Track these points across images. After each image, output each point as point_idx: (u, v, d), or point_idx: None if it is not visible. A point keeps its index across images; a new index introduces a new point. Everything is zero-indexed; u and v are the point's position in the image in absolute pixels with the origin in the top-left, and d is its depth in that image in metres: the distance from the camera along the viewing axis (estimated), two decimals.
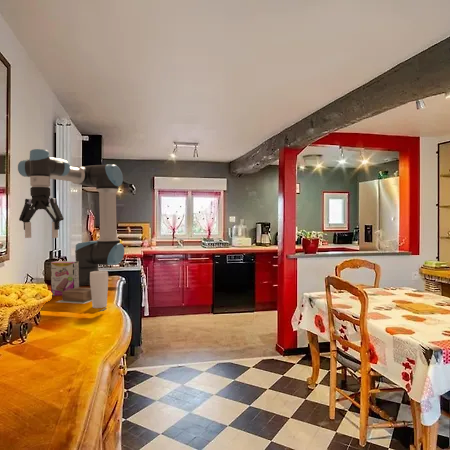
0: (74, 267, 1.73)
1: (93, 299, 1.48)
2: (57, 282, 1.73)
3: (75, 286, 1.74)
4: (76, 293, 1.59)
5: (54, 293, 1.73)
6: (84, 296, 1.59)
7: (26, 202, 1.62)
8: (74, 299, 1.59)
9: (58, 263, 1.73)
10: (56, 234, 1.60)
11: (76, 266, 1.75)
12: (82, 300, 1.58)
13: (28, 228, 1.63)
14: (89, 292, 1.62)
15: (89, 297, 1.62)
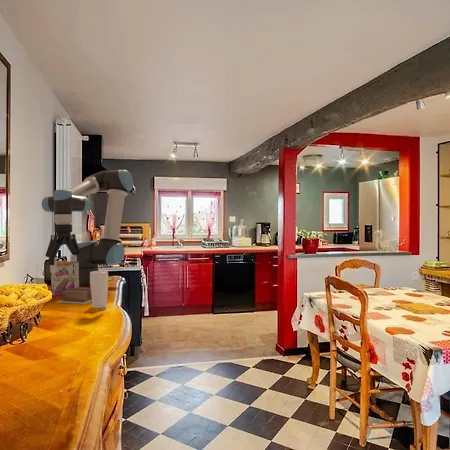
0: (74, 267, 1.73)
1: (93, 299, 1.48)
2: (57, 282, 1.73)
3: (75, 286, 1.74)
4: (76, 293, 1.59)
5: (54, 293, 1.73)
6: (84, 296, 1.59)
7: None
8: (74, 299, 1.59)
9: (58, 263, 1.73)
10: (53, 269, 1.68)
11: (76, 266, 1.75)
12: (82, 300, 1.58)
13: (72, 260, 1.81)
14: (89, 292, 1.62)
15: (89, 297, 1.62)
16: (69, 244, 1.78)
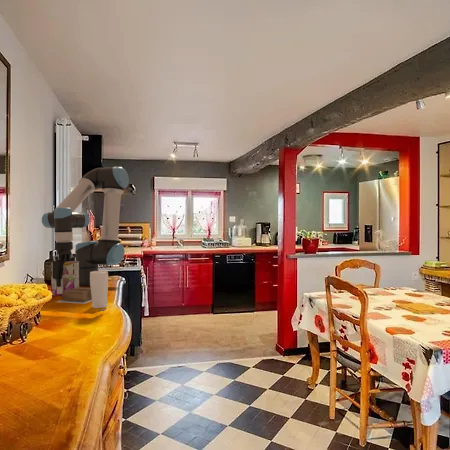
0: (74, 267, 1.73)
1: (93, 299, 1.48)
2: None
3: (75, 286, 1.74)
4: (76, 293, 1.59)
5: (54, 293, 1.74)
6: (84, 296, 1.59)
7: None
8: (74, 299, 1.59)
9: None
10: (60, 290, 1.72)
11: (76, 266, 1.75)
12: (82, 300, 1.58)
13: None
14: (89, 292, 1.62)
15: (89, 297, 1.62)
16: None
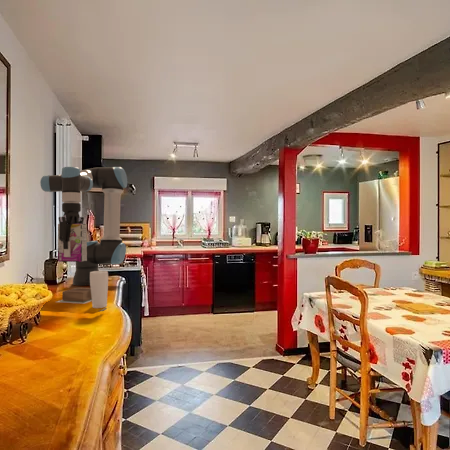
0: (82, 229, 1.65)
1: (93, 299, 1.48)
2: None
3: (83, 249, 1.66)
4: (76, 293, 1.59)
5: (61, 256, 1.66)
6: (84, 296, 1.59)
7: None
8: (74, 299, 1.59)
9: None
10: (67, 253, 1.64)
11: (84, 228, 1.67)
12: (82, 300, 1.58)
13: None
14: (89, 292, 1.62)
15: (89, 297, 1.62)
16: None
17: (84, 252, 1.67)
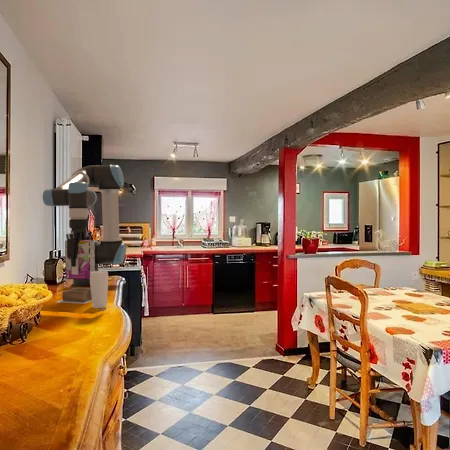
0: (90, 246, 1.62)
1: (93, 299, 1.48)
2: None
3: (91, 266, 1.62)
4: (76, 293, 1.59)
5: (68, 273, 1.62)
6: (84, 296, 1.59)
7: None
8: (74, 299, 1.59)
9: None
10: (75, 271, 1.60)
11: (92, 245, 1.63)
12: (82, 300, 1.58)
13: None
14: (89, 292, 1.62)
15: (89, 297, 1.62)
16: None
17: (92, 269, 1.63)
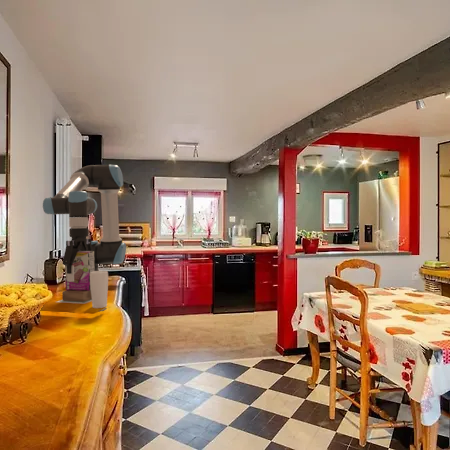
0: (90, 258, 1.61)
1: (93, 299, 1.48)
2: None
3: None
4: (76, 293, 1.59)
5: (69, 285, 1.62)
6: (84, 296, 1.59)
7: None
8: (74, 299, 1.59)
9: None
10: (70, 278, 1.58)
11: (91, 256, 1.63)
12: (82, 300, 1.58)
13: None
14: (89, 292, 1.62)
15: (89, 297, 1.62)
16: (84, 249, 1.66)
17: None
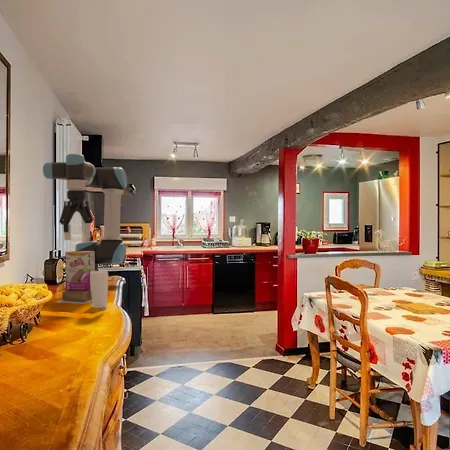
0: (90, 257, 1.61)
1: (93, 299, 1.48)
2: (72, 273, 1.62)
3: None
4: (76, 293, 1.59)
5: (69, 285, 1.62)
6: (84, 296, 1.59)
7: None
8: (74, 299, 1.59)
9: (73, 253, 1.62)
10: (67, 236, 1.62)
11: (92, 256, 1.63)
12: (82, 300, 1.58)
13: (86, 228, 1.75)
14: (89, 292, 1.62)
15: (89, 297, 1.62)
16: (82, 211, 1.71)
17: None
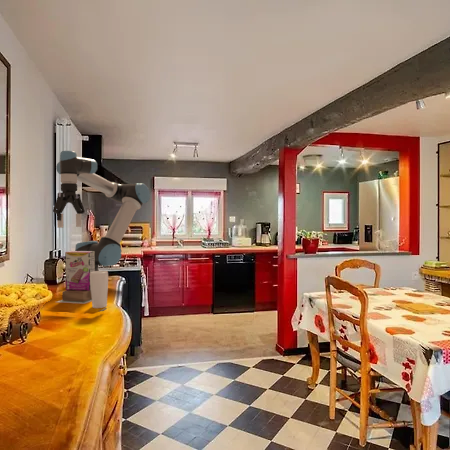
0: (90, 257, 1.61)
1: (93, 299, 1.48)
2: (72, 273, 1.62)
3: None
4: (76, 293, 1.59)
5: (69, 285, 1.62)
6: (84, 296, 1.59)
7: None
8: (74, 299, 1.59)
9: (73, 253, 1.62)
10: (60, 224, 1.80)
11: (92, 256, 1.63)
12: (82, 300, 1.58)
13: (78, 218, 1.93)
14: (89, 292, 1.62)
15: (89, 297, 1.62)
16: (74, 203, 1.90)
17: None
